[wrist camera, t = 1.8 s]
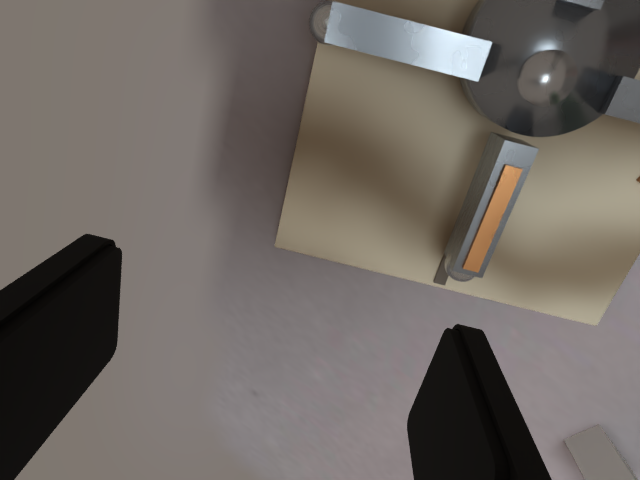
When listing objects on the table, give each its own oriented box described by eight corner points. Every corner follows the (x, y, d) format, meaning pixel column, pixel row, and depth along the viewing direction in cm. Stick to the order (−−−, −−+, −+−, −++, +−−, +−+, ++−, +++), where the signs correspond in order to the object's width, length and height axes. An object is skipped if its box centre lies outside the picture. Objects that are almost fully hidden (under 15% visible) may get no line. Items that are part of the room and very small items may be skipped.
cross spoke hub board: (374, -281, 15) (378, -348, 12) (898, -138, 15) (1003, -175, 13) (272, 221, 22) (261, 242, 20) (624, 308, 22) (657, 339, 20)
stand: (394, -310, 16) (398, -348, 14) (896, -173, 16) (951, -195, 14) (277, 239, 24) (272, 251, 23) (603, 319, 25) (618, 336, 23)
